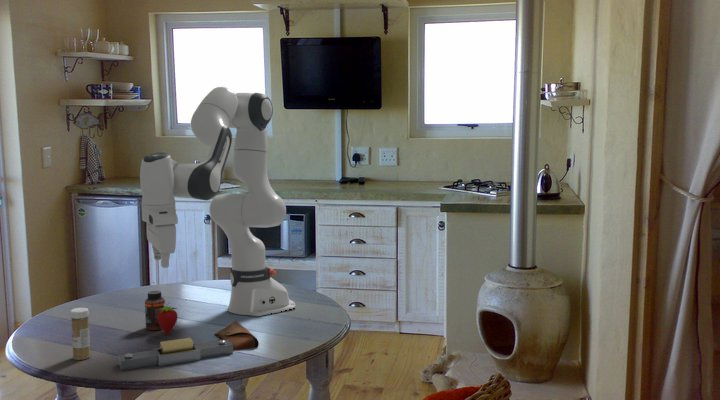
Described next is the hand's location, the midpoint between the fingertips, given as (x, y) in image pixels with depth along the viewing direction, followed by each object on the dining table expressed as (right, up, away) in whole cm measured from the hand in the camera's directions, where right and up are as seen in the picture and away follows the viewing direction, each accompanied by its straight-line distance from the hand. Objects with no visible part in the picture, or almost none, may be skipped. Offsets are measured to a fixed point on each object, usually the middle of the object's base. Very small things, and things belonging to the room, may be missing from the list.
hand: (161, 263), depth 197 cm
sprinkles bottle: (-21, -26, -2) cm, 33 cm away
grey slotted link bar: (+5, -26, -3) cm, 26 cm away
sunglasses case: (+18, -24, +13) cm, 33 cm away
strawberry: (-3, -23, +18) cm, 29 cm away
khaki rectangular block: (+5, -26, -2) cm, 26 cm away
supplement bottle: (-8, -22, +24) cm, 34 cm away
